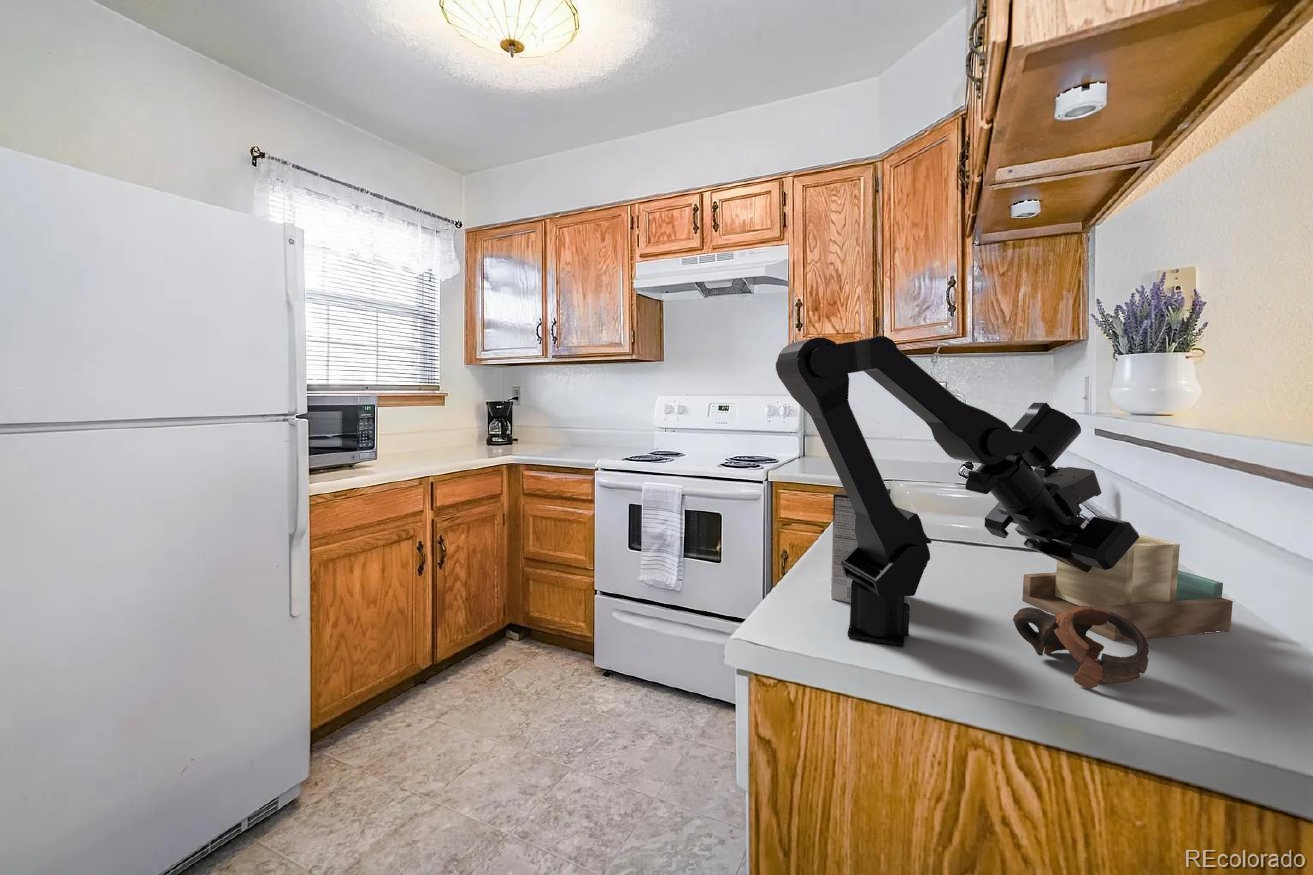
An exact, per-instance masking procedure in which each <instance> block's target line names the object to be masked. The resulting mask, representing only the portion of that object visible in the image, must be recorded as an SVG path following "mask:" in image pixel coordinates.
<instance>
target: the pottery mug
mask: <svg viewBox="0 0 1313 875" xmlns="http://www.w3.org/2000/svg"><path fill="white" fill-rule="evenodd" d="M1107 621H1108V622H1110V623H1111V624H1113V625H1114V626H1116V627H1117V628H1118V629H1119V630H1120V634H1122V635H1124V636H1125V637H1127V638H1130V639H1131V640H1130V641H1133V642H1134V644H1135V646H1136V652H1135V653H1134V654H1131V655H1129V656H1117V655H1110V654H1107V653H1101V652H1103V650H1104V649H1105V646H1104V645H1103V644H1102V643H1099V641H1095V640H1094V639H1092V638H1091V637H1089V636H1087V632H1089V631H1090V630H1089V629H1090V628H1091V627H1092V625H1094V626H1101V625H1104V624H1106V623H1107ZM1012 622H1013V623H1014V625H1015V626H1014V627H1015V629H1016V631H1017V632H1018V633H1019V635H1020V636H1021V638H1023V639H1024V640H1025V641H1026V642H1027V643H1029V644H1030V645H1031V646H1032V647H1033V649H1034V651H1035V652H1036V654H1037V655H1038V656H1041V657H1043V655H1045V654H1047V655H1046V656H1049V655H1050V654H1052V653H1054V652H1057V651H1058V652H1059V651H1067V652H1068V653H1069V654H1070V655H1071V656H1072V657H1073V658H1074V660H1076V661H1077V662H1078V663H1080V666H1079V668H1078V671H1077V672H1076V673H1074V675H1073V681H1074V682H1075V683H1076V684H1078V685H1079V686H1081V687H1083V688H1084V689H1086V690H1092V689H1094V688H1097V687H1098V686H1099V684H1101V685H1103V686H1105V685H1106V686H1108V685H1118V684H1122V683H1124V684H1125V683H1129V682H1132V681H1136V680H1139V679H1140V678H1141V674H1142V675H1143V674H1145V673H1146V671H1147V669H1148V666H1149V660H1150V659H1149V657H1148V655H1149V651H1150V650H1149V648H1150V647H1149V643H1148V640H1147V638H1145V637H1144V635H1143V634H1142V633H1141V631H1140V630H1139V629H1138V628H1137V627H1136V626H1135V625H1134V624H1132V623H1131V622H1129V621H1128V620H1127V619H1125V618H1123V617H1121V616H1120V615H1118V614H1116V613H1113V612H1110V611H1108V610H1105V609H1102V608H1098V607H1093V606H1089V607H1088V606H1078V607H1074V608H1072V609H1070V610H1069V611H1068V612H1064V613H1061V614H1059V615H1054V614H1052V613H1049V612H1047V611H1045V610H1043V609H1040V608H1038V607H1032V606H1031V607H1030V606H1029V607H1028V606H1027V607H1022V608H1020V609H1019V610H1017V612H1016V613H1015V614H1014V616H1013V618H1012ZM1030 624H1032V625H1034V626H1035V627H1036V629H1037V630H1038V631H1036V630H1034V628H1033V627H1032V626H1031V625H1030ZM1100 655H1101V658H1100V661H1099V660H1098V658H1099V656H1100Z"/></svg>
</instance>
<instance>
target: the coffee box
mask: <svg viewBox="0 0 1313 875" xmlns="http://www.w3.org/2000/svg"><path fill="white" fill-rule="evenodd" d="M887 490H888V493H889V495H890V496H891V488H887ZM832 502H833V503H832V506H833V507H832V541H831V542H832V543H831V544H832V547H831V582H830V584H831V585H830V586H831V589H830V595H831V596H830V599H831V600H835V601H840V602H845V603H850V601H851V584H852V579H851V578H849V577H846V576H845V575H844V572H843V569H842V566H841V561H842V560H843V559H844V558H845V557H846V556H847V555H848V554H849V553H850V552H851V551H852V550H853V548H854V547H855V546H856V545H857V544H858V543H857V539H856V535H855V519H856V515H855V511H854V509H853V507H852V504H851V502H850V500H849V498H848V496H847V493H846V491H845V489H844V488H843V489H841V490H838V491H836V492H835V493H833V501H832ZM880 572H882V570H880Z"/></svg>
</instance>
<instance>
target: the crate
mask: <svg viewBox="0 0 1313 875" xmlns="http://www.w3.org/2000/svg"><path fill="white" fill-rule="evenodd" d="M1180 546H1181V545H1180V543H1177V542H1176V543H1175V542H1173V541H1168V540H1164V539H1160V538H1156V537H1155V538H1154V537H1151V536H1147V535H1144V534H1139V538H1138V539H1137V541H1136V542H1135V543H1134V544H1133V545H1132V546H1131V547H1130V549H1129V550H1128V551H1127V552H1126V553H1125V554H1124V555H1123V557H1122V558H1121V559H1120V560H1119V561H1118V562H1117V563H1116V565H1115V566H1114V567H1113V568H1111V569H1107V570H1103V569H1099V568H1096V567H1093V566H1092V568H1091V569H1090V571H1089V572H1088V573H1086V572H1083V571H1080V570H1078V569H1076V568H1074V567H1071V566H1069V565H1067V564H1065V563H1063V562H1060V561H1058V560H1056V571H1055V572H1056V588H1055V596H1056V597H1059V598H1061V599H1064V600H1066V601H1069V602H1071V603H1074V604H1076V605H1079V606H1088V607H1089V606H1093V607H1098V608H1102V609H1105V610H1107V606H1114V605H1128V604H1142V603H1156V602H1170V601H1176V590H1177V576H1178V570H1179V560H1180Z"/></svg>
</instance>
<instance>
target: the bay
mask: <svg viewBox="0 0 1313 875" xmlns="http://www.w3.org/2000/svg"><path fill="white" fill-rule="evenodd" d="M1022 585H1023V586H1022V602H1025V603H1026V604H1029V605H1031V606H1034V607H1035V608H1037V609H1040V610H1042V611H1044V612H1046V613H1048V614H1051V615H1054V616H1055V615H1059V614H1061V613H1064V612H1068V611H1069V610H1070V609H1072V608H1074V607H1078V606H1079V605H1076V604H1074V603H1071V602H1069V601H1066V600H1064V599H1061V598H1059V597H1056V596H1055V588H1056V571H1055V572H1040V573H1039V572H1038V573H1024V574H1023V583H1022ZM1223 585H1224V583H1223V582H1221V581H1218V580H1214V579H1211V578H1207V577H1204V576H1200V575H1196V574H1193V573H1189V572H1185V571H1182V570H1179V569H1178V576H1177V590H1176V601H1170V602H1156V603H1142V604H1128V605H1114V606H1107V610H1108V611H1110V612H1113V613H1116V614H1118V615H1120V616H1121V617H1123V618H1125V619H1127V620H1128V621H1129V622H1131V623H1132V624H1134V625H1135V626H1136V627H1137V628H1138V629H1139V630H1140V631H1141V633H1142V634H1143V635H1144V637H1145V639H1155V638H1164V637H1165V638H1166V637H1167V638H1168V637H1178V636H1190V635H1199V633H1203V634H1206V633H1205V632H1215V633H1217V632H1216V631H1227V632H1231V627H1232V617H1233V616H1232V614H1233V603H1234V602H1233V600H1230V599H1227V598H1225V597H1223V589H1224V587H1223ZM1088 631H1091V632H1092V633H1096V635H1099V636H1102V637H1104V638H1106V639H1108V640H1111V641H1114V642H1117V641H1119V642H1120V641H1132V640H1131V639H1130V638H1127V637H1125V636H1124V635H1122V634H1120V630H1119V629H1118V628H1117V627H1116V626H1114V625H1113V624H1111V623H1110V622H1108V621H1107V623H1106V624H1104V625H1101V626H1094V625H1092V627H1091V628H1090V629H1089V630H1088Z"/></svg>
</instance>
